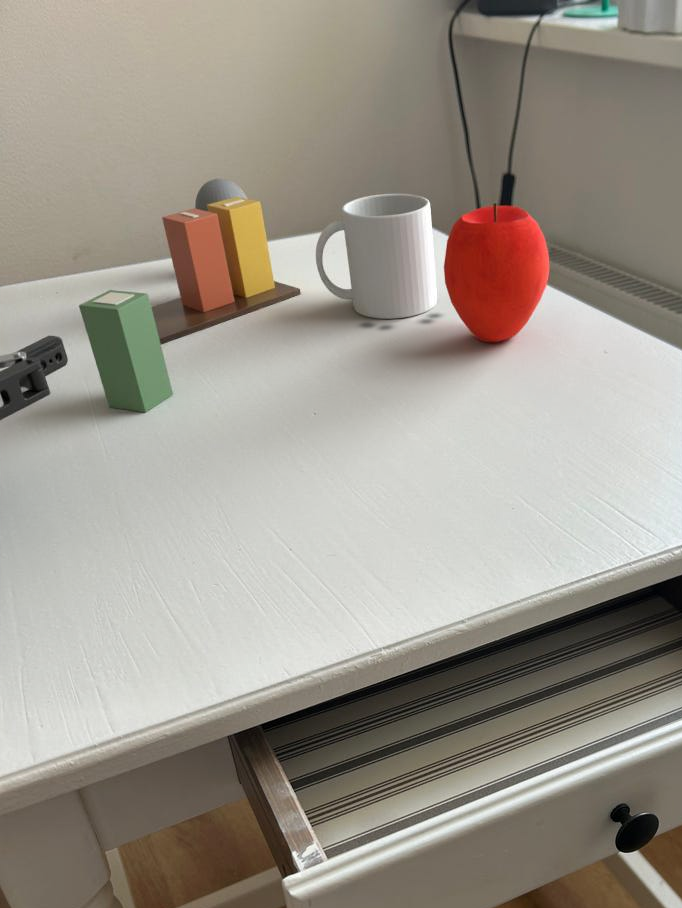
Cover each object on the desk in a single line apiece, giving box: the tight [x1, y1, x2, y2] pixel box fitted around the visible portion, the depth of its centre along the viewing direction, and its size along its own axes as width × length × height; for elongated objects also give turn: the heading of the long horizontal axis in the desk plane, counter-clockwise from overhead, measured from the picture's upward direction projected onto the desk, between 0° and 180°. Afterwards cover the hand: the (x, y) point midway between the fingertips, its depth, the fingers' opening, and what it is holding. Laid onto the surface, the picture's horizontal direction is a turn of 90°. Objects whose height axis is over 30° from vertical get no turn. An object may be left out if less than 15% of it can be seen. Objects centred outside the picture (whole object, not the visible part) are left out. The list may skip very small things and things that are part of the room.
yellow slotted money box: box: [207, 197, 275, 298], centre depth 105 cm, size 4×4×9 cm
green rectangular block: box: [78, 289, 174, 413], centre depth 84 cm, size 4×4×9 cm
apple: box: [443, 202, 550, 343], centre depth 91 cm, size 10×10×12 cm
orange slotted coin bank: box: [161, 207, 234, 312], centre depth 102 cm, size 4×4×9 cm
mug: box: [315, 193, 438, 320], centre depth 101 cm, size 11×10×10 cm
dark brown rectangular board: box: [151, 280, 302, 345], centre depth 105 cm, size 9×20×1 cm, turn 138°
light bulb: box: [194, 178, 248, 212], centre depth 113 cm, size 6×6×10 cm
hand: (16, 343), depth 73 cm, fingers open, 8 cm apart
